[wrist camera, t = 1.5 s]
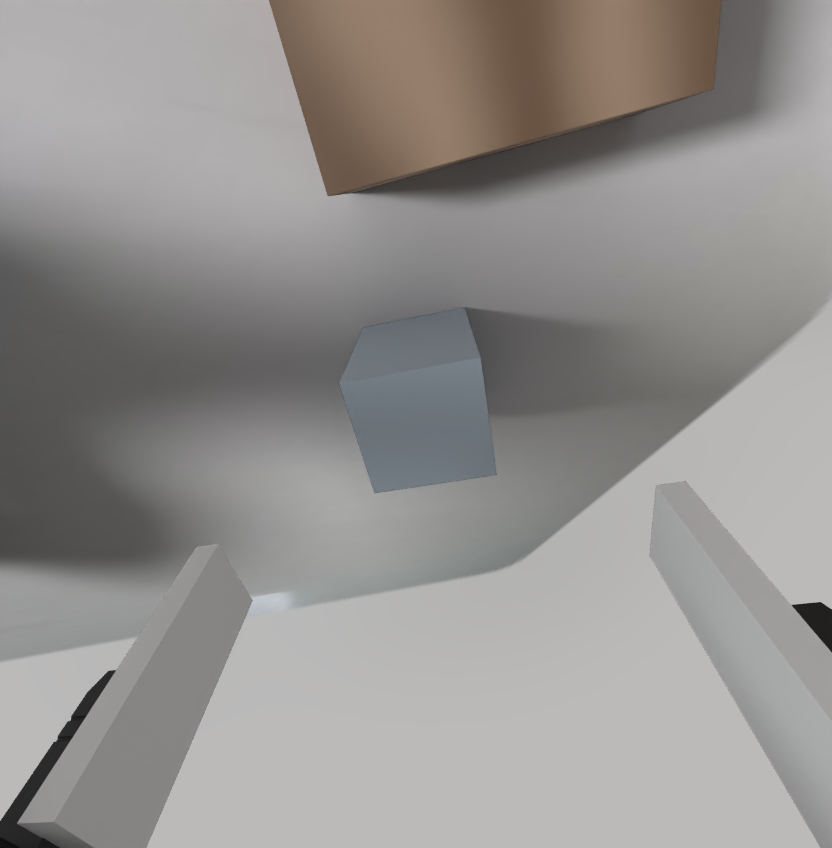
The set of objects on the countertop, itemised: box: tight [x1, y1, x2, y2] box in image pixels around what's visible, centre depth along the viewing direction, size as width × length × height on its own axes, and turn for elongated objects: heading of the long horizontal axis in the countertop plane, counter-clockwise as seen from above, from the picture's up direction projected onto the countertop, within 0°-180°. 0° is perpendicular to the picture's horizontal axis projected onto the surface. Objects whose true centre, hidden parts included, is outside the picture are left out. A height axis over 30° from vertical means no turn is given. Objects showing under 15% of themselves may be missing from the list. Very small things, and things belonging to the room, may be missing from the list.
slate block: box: [339, 307, 497, 493], centre depth 22 cm, size 6×6×8 cm
